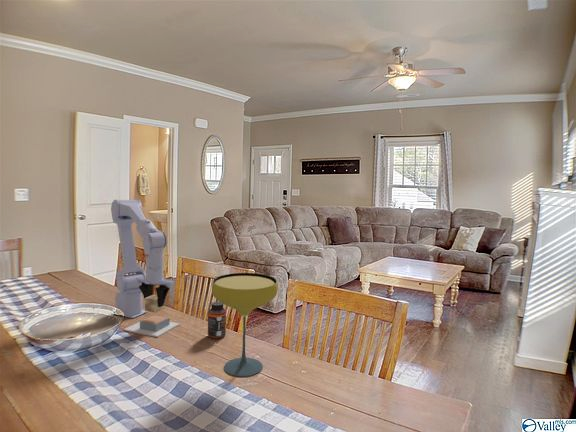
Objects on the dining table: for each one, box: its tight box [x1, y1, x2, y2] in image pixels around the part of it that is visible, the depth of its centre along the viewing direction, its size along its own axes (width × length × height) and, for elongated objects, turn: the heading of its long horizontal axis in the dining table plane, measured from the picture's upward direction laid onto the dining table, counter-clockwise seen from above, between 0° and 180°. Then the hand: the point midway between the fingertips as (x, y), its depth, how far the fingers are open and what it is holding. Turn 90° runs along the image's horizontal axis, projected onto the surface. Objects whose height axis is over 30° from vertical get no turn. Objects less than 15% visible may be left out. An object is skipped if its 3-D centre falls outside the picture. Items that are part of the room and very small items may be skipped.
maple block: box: [144, 294, 165, 313], centre depth 133 cm, size 4×4×4 cm
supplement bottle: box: [207, 301, 227, 340], centre depth 128 cm, size 6×6×11 cm
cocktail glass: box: [211, 272, 279, 378], centre depth 107 cm, size 18×18×25 cm
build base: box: [123, 314, 181, 338], centre depth 134 cm, size 14×12×3 cm
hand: (154, 305), depth 133 cm, fingers closed on maple block, 4 cm apart
